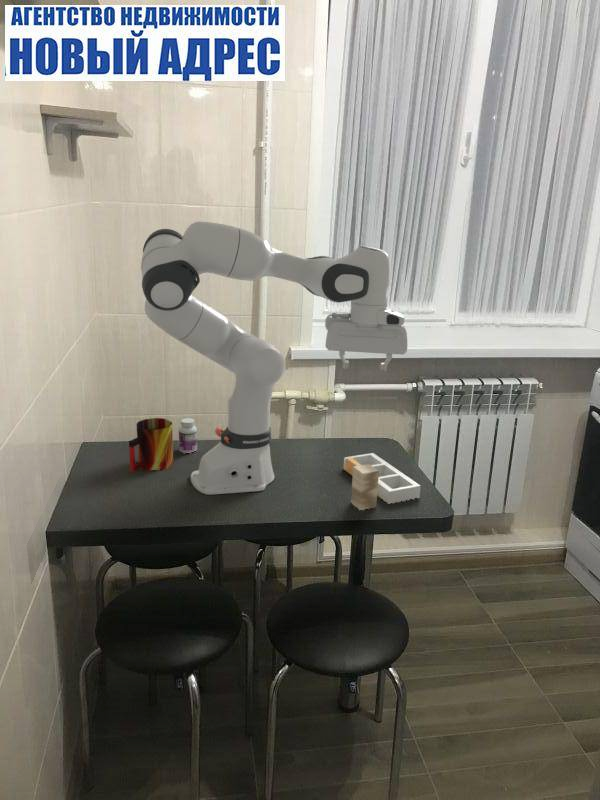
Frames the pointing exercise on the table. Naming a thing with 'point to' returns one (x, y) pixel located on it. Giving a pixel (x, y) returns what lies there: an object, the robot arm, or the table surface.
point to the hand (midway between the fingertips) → (364, 369)
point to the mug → (152, 445)
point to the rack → (386, 478)
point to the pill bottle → (187, 436)
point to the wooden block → (364, 486)
